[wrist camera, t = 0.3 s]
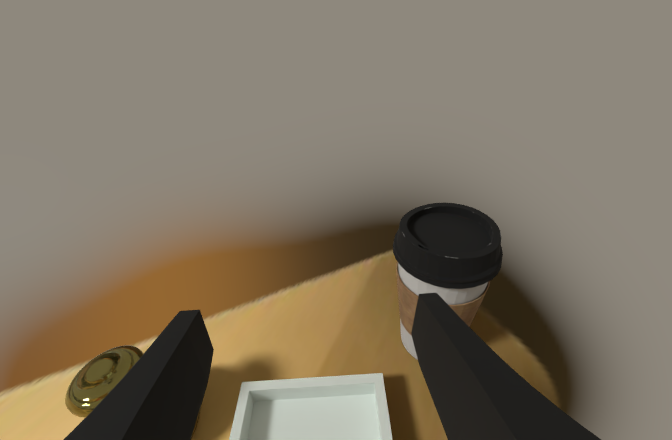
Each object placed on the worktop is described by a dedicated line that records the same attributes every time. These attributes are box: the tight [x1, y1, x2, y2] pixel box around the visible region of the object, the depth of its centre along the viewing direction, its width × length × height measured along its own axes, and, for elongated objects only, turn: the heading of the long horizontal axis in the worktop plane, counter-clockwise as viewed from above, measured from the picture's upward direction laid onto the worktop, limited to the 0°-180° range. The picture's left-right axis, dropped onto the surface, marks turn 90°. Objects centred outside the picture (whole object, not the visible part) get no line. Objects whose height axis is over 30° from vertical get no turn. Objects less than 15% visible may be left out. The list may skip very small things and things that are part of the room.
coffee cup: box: [393, 203, 503, 359], centre depth 28 cm, size 8×8×15 cm
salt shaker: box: [65, 346, 199, 435], centre depth 24 cm, size 7×7×10 cm
